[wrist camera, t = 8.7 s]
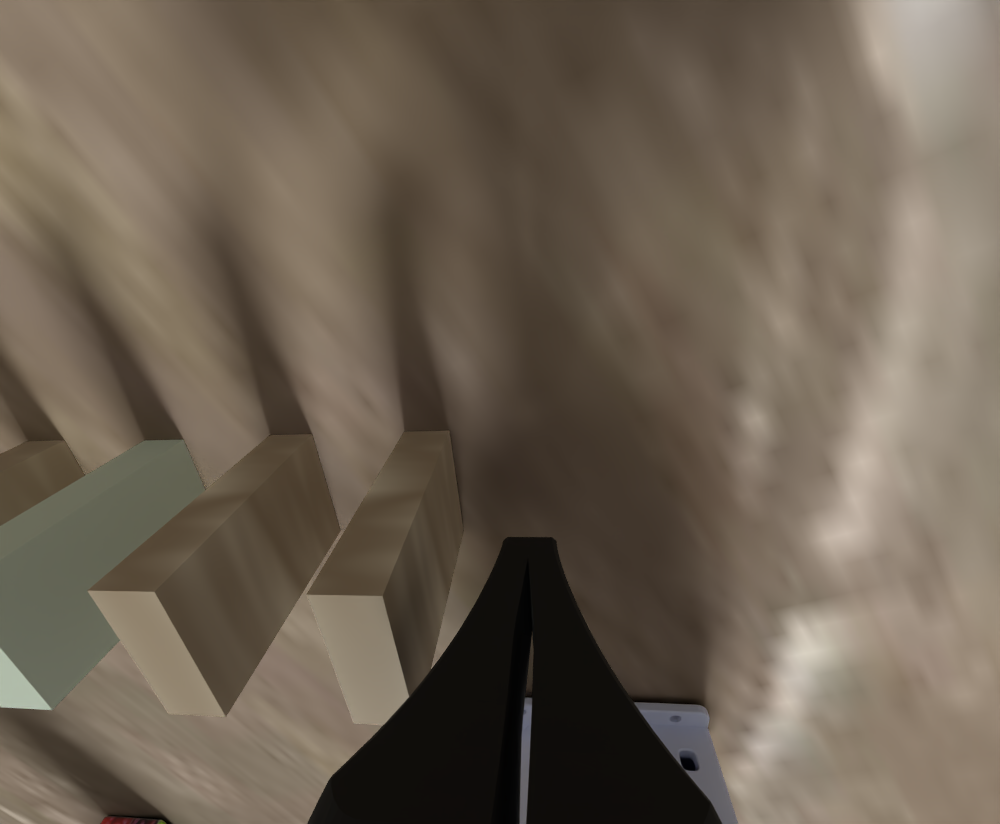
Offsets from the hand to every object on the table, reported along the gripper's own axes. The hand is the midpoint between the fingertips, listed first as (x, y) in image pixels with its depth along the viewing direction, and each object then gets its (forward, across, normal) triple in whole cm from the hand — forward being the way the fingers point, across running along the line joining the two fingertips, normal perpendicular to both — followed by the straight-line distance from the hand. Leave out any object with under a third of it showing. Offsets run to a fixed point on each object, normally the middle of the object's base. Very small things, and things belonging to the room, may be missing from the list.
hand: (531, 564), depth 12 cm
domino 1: (+4, +4, 0) cm, 5 cm away
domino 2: (+4, +9, 0) cm, 9 cm away
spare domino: (+4, +14, 0) cm, 14 cm away
